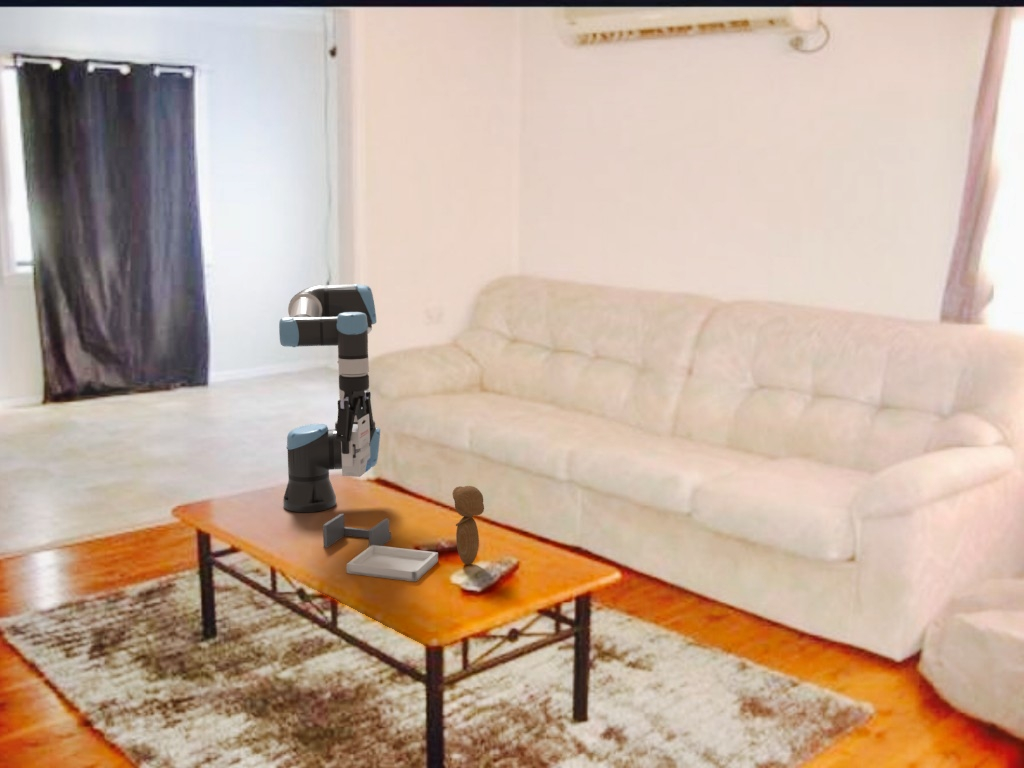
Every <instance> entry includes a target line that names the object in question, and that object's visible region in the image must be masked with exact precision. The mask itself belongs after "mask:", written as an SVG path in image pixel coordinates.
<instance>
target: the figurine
mask: <svg viewBox="0 0 1024 768" xmlns="http://www.w3.org/2000/svg"><path fill="white" fill-rule="evenodd" d="M452 499H453V501H454V508H455V511H456V512H457V514H458V515H460V516H461V517H462V518H460V520H459V521H458V522H457V523H455V526H456V534H455V535H456V538H455V540H456V549H457V553H458V556H459V559H460V560H461V562H462V563H463V564H464V565H465V566H466V565H467V566H469V565H472V564H473V563H474V562H475V560H476V558H477V555H478V552H479V543H480V537H479V530H478V526H477V522H476V520H475V518H473V517H474V516H479V515H482V514H483V513H484V511H485V506H484V505H485V504H484V497H483V493H482V492H481V490H479V489H478V488H477V487H476V486H472V485H466V486H456V487H455V488H453V491H452Z"/></svg>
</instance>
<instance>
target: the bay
mask: <svg viewBox="0 0 1024 768" xmlns="http://www.w3.org/2000/svg"><path fill="white" fill-rule="evenodd" d="M345 524H346V523H345V514H344V513H339V514H337V515H336V516H335V517H333V518H332V519H330V520H329V521H326V522H325V523H324V524H323V525H322V537H323V541H322V542H323V548H326V549H328V548H329V547H330V546H332V545H333V544H335V543H336V542H338V541H339V540H341V539H342V538H343V537H344V536H346V537H348V536H349V537H355V538H356V537H357V538H362V539H365V538H366V539H368V547H370V546H371V545H378V546H385V544H387V543H388V542H389V541H391V540H392V532H391V531H390V518H384V519H382V520H381V521H380V522H378V523H377V524H376V525H373V527H371V528H370V529H368V528H367V529H366V528H359V527H358V528H356V527H349V526H348V527H347V526H345Z"/></svg>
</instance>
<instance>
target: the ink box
mask: <svg viewBox="0 0 1024 768" xmlns="http://www.w3.org/2000/svg"><path fill="white" fill-rule="evenodd" d="M363 420H365V423H364V424H362V422H363ZM351 440H352V441H353V466H342V469H341V476H342V477H353V478H354V477H355V478H360V477H362V476H363V475H364V474H365V473H368V471H369V470H370V469H371V468H372V467H371V462H370V424H369V414H367V415H365V416H363V417H362V418H360V419H359V420H358V424H353V429H352V434H351ZM341 451H342V444H341Z"/></svg>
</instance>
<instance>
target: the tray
mask: <svg viewBox="0 0 1024 768" xmlns="http://www.w3.org/2000/svg"><path fill="white" fill-rule="evenodd" d="M438 562H439V552H436V551H427V550H418V549H413V548H412V549H411V548H402V547H401V548H400V547H394V546H393V547H392V546H385V545H383V546H378V545H371V546H370V547H369V546H368V547H367V548H366V549H365V550H363V551H362V552H360V553H358V555H356V556H355V557H354V558H353V559H351V560H350V561H348V562H347V563H346V574H351V575H359V576H367V577H374V578H380V579H381V578H382V579H390V580H398V581H403V582H404V581H407V582H418V581H419V580H420V579H421V578H422V577H423V576H424V575H425V574H426V573H427V572H429V571H430V570H431V569H432V568H433V567H434V566H435V565H436V564H437V563H438Z"/></svg>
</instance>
